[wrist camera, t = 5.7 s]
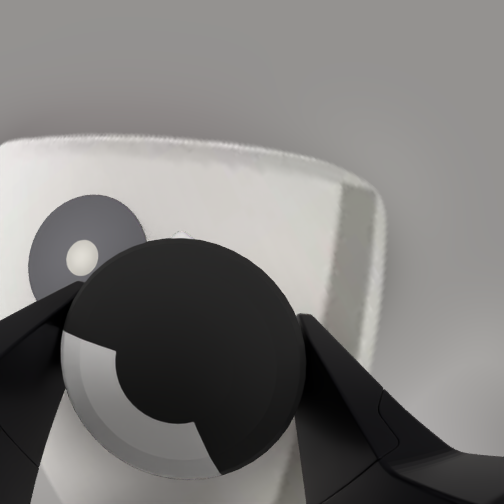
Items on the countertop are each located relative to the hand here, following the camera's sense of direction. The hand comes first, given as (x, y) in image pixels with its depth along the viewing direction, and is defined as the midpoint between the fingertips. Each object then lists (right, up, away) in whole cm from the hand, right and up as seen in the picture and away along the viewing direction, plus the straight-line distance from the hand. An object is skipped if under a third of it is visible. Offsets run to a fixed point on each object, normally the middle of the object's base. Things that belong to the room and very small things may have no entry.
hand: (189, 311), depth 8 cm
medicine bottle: (-1, -4, +9) cm, 10 cm away
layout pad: (-9, +1, +9) cm, 13 cm away
